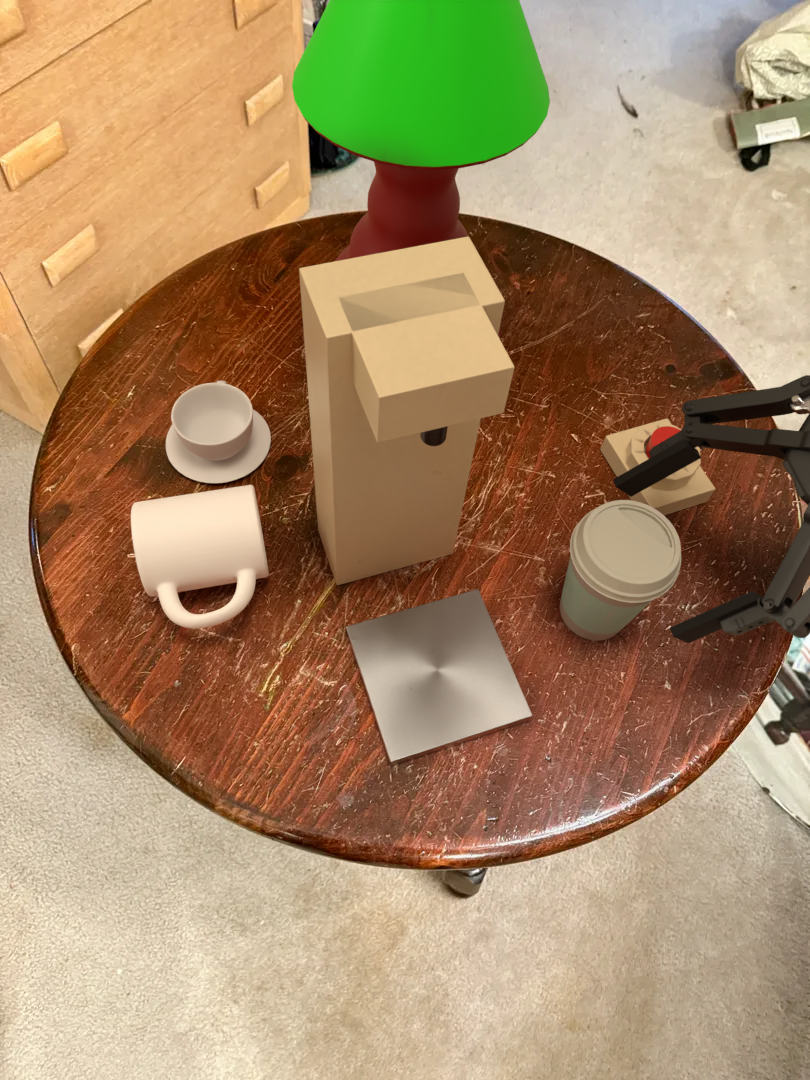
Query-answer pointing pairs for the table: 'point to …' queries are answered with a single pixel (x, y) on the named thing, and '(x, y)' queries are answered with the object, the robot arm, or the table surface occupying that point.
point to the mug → (199, 549)
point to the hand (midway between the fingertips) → (648, 558)
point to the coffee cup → (617, 567)
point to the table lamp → (420, 104)
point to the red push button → (660, 437)
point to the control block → (670, 491)
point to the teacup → (216, 434)
